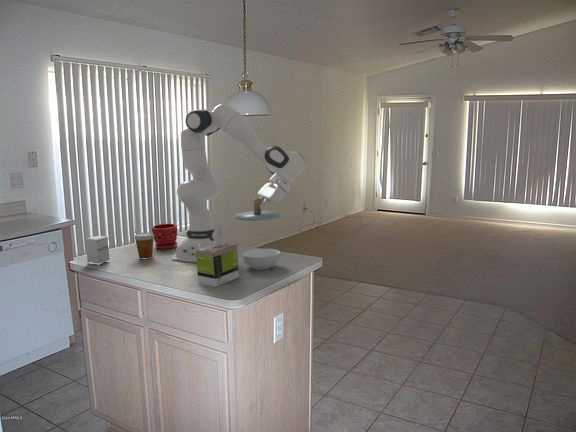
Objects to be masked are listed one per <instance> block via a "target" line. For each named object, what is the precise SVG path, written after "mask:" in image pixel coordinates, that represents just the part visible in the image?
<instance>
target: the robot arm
mask: <svg viewBox="0 0 576 432" xmlns="http://www.w3.org/2000/svg"><path fill="white" fill-rule="evenodd" d="M185 125H186V127H185V128H183V129H182V130H181V131H180V148H181V149H180V150H181V154H182V155H181V156H182V161H183V166H184V168H185V170H186V171H188V172H189V173H190V174H191V176H192V178H193V179H188V180H186V181H183V182H181V183H180V184H179V185H178V186H177V190H176V194H177V198H178V199H179V201H180V202H182V203H183V204H184V205H185V207H186V209H187V211H188V215H189V216H188V217H189V227H190V228H189V229H188V230H187V231H186V232H185V235H187V237H185V239H183V240H182V241H181V242H180V243H178V244H177V245H176V251H175V253H174V254H173V255H172V256H171V260H172V261H177V260H179V261H178V262H190V263H197V260H196V250H198V249H201V248H204V247H207V246H210V245H213V244H216V242H215V239H216V238H215V237H216V233H215V228H214V218H213V212H212V211H211V210H210V209H209V208H208V207H207V205H206V201H208V200H209V201H210V200H212V199H215V198H217V197H218V196H219V195H220V194H221V192H222V184H221V182H220V181H219V179H217V178H216V177H215V176H214V175H213V173H212V171H211V170H210V167H209V162H208V160H207V159H208V157H207V153H206V147H205V137H208V136H210V135H213V134H214V133H216V132H218V131H220V130H222V131H223V132H224V133H225V134H227V135H228V136H229V137H231V138H232V139H233V140H235V141H237V142H238V143H239V144H241V145H243V146H244V147H245V148H247V149H248V150H249V151H251V153H253V154H254V155H255V156H257V157H258V158H259V159H260V160H261V161H262V162H263V163H264V164H265V166H266V169H267V171H268V172H269V173H270V174H271V175H272V176H271V177H270V178H269V179H268V181H269V182H266V183H265V184H264V185H263V186H262V187H261V188H260V189H259V190H258V192H257V193H256V196H258V198H260V200H261V204H260V205H259V207H260V208H261V210H263V209H264V207H266V206H267V205H268V204H269V203H271V204H274V205H275V204H277V203H278V202H280V201H281V199H283V198H284V196H285V195H286V194H288V193H289V192H290V190H291V188H290V186H291V185H292V183H293V182H294V180H296V179H297V178H298V177H299V176H300V174H301V173H302V172H303V170H304V169H305V167H306V160H305V159H304V156H303V155H302V154H301V153H299V152H298V151H292V150H291V151H290V150H286V149H284V148H281V146H277V145H273V146H270V147H267V146H266V145H265V144H264V143H263V142H262V141H261V140H260V138H258V136H257V134H256V132H255V131H254V128H253V126H252V124H251V122H250V121H249V120H248V119H247V118H246V117H245V116H244V115H243V114H242V113H241V112H239V111H237V110H236V109H235V108H233V107H232V106H230V105H227V103H226V104H225V103H220V104H218V105H217V106H215V107H214V108H213V110H210V109H204V108H203V109H199V108H197V109H193V110H191V111H189V112H188V113H187V114H186V117H185Z"/></svg>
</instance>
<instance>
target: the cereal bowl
mask: <svg viewBox="0 0 576 432" xmlns="http://www.w3.org/2000/svg"><path fill="white" fill-rule="evenodd" d="M242 259H243V263H244V264H245V265H246V266H248V267H250V268H251V269H254V270H256V271H265V270H270V269H271V268H272V267H275V266H276V265H277V264H278V263H279V262H280V259H281V252H280V250H277V249H275V248H254V249H250V250H246V251H244V252H243V253H242Z"/></svg>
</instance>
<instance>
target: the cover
mask: <svg viewBox="0 0 576 432" xmlns="http://www.w3.org/2000/svg"><path fill="white" fill-rule="evenodd" d="M252 201H253V203H252V204H253V205H252V206H253V211H252V210H251V211H244V212H239V213H236V214H235V215H234V218H235V220H240V221H247V222H249V221H250V222H251V221H252V222H253V221H255V222H256V221H257V222H258V221H265V220H266V221H267V220H273V219H278V218H280V217H281V213H280V212H279V211H275V210H262V209H261V208H260V207H259V205H260V204H261V200H260V197H257V198H253V199H252Z"/></svg>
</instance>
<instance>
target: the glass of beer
mask: <svg viewBox="0 0 576 432" xmlns="http://www.w3.org/2000/svg"><path fill="white" fill-rule="evenodd" d="M133 238H134V240H135V243H136V249H137V254H138V258H150V257H152V258H153V250H154V249H153V248H154V235H153V233H152V232H139V233H136V234H134V237H133ZM150 259H151V258H150Z"/></svg>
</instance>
